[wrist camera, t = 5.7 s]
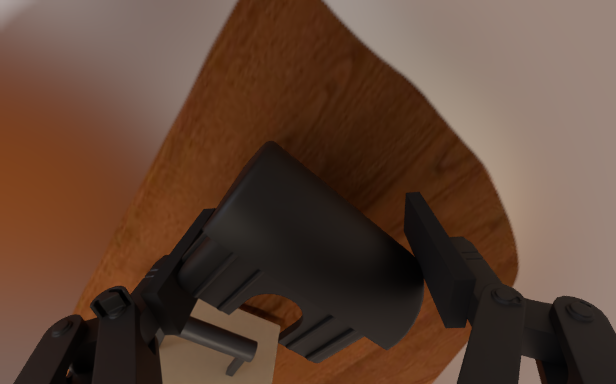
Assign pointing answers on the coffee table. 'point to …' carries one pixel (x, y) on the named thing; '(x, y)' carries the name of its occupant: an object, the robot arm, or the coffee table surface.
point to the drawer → (219, 349)
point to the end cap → (304, 259)
